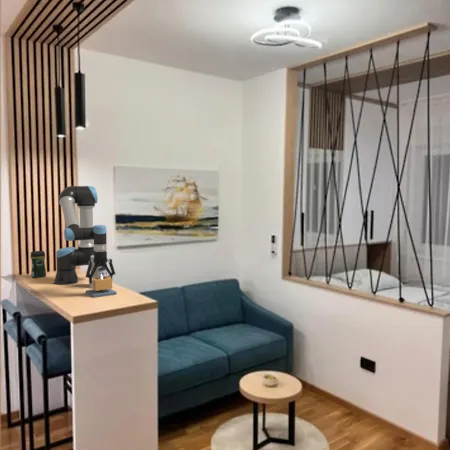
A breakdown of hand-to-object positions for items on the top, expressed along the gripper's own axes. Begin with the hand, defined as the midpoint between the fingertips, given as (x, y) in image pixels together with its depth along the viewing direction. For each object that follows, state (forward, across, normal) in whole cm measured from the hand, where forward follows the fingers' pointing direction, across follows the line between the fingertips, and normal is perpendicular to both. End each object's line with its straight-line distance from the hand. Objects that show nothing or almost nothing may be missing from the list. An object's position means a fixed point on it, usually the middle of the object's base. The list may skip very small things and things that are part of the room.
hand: (101, 287), depth 256 cm
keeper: (+4, 0, 0) cm, 4 cm away
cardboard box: (0, 0, 0) cm, 0 cm away
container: (+4, +6, +20) cm, 21 cm away
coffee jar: (+4, -19, +74) cm, 77 cm away
